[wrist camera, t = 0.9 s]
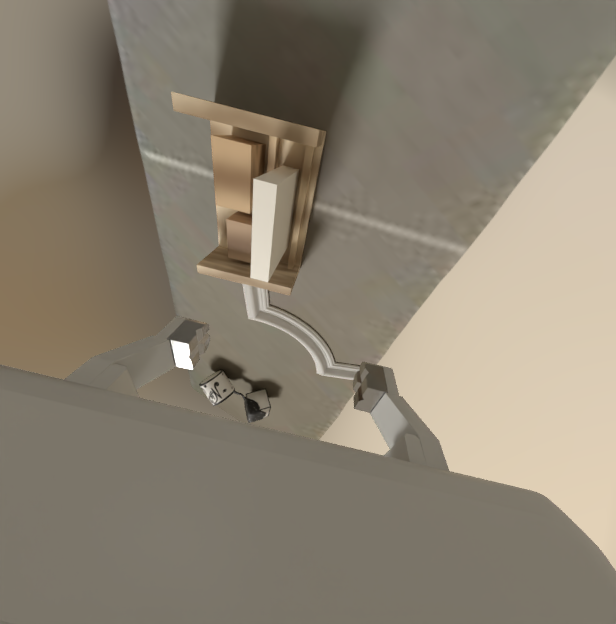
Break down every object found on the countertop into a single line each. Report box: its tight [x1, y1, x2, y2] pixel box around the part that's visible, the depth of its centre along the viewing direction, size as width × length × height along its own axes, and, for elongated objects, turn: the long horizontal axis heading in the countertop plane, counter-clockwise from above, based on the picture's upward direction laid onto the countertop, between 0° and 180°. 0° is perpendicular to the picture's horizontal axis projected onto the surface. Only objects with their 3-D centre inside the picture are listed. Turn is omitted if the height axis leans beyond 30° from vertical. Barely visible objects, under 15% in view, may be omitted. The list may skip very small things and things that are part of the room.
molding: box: [243, 284, 360, 380], centre depth 56 cm, size 42×12×3 cm, turn 43°
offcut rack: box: [171, 92, 327, 295], centre depth 34 cm, size 22×16×10 cm
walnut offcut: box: [226, 211, 252, 263], centre depth 38 cm, size 6×4×5 cm, turn 169°
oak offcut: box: [211, 135, 266, 214], centre depth 31 cm, size 8×5×6 cm, turn 169°
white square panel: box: [250, 165, 299, 282], centre depth 31 cm, size 12×2×13 cm, turn 169°
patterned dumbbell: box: [199, 370, 271, 423], centre depth 72 cm, size 25×10×10 cm, turn 54°
